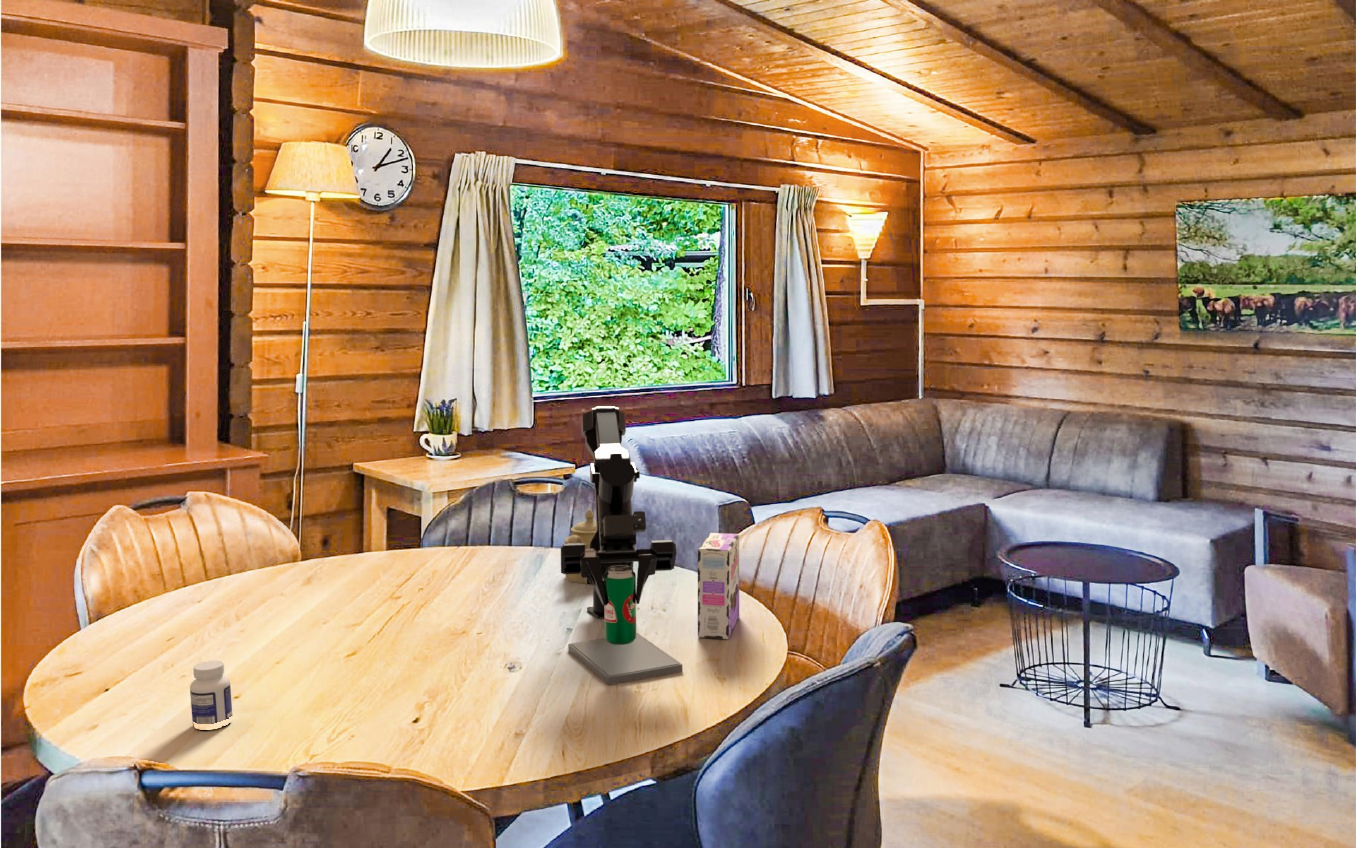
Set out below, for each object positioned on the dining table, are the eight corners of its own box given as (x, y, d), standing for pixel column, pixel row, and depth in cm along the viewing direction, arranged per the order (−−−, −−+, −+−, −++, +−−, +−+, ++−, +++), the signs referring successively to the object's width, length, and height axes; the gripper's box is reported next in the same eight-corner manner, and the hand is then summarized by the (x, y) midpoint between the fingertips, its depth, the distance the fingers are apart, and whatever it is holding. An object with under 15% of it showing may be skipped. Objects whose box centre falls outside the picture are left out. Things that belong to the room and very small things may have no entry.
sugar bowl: (619, 587, 220) (618, 517, 218) (566, 589, 218) (564, 519, 216) (614, 569, 234) (613, 503, 232) (564, 571, 233) (563, 504, 231)
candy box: (729, 640, 186) (729, 549, 184) (696, 638, 187) (696, 548, 185) (740, 617, 199) (740, 532, 197) (709, 615, 200) (709, 531, 198)
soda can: (600, 637, 170) (599, 566, 169) (630, 634, 172) (629, 563, 170) (610, 648, 165) (609, 574, 164) (640, 643, 167) (640, 570, 166)
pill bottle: (219, 714, 154) (215, 656, 153) (240, 722, 151) (236, 663, 150) (184, 726, 150) (181, 666, 149) (205, 735, 147) (201, 674, 146)
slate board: (568, 650, 181) (568, 643, 180) (637, 639, 186) (637, 632, 186) (608, 685, 165) (608, 677, 164) (682, 671, 170) (682, 663, 170)
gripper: (559, 495, 168) (562, 581, 159) (674, 491, 171) (684, 576, 161) (559, 531, 177) (562, 615, 168) (669, 527, 179) (677, 610, 170)
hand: (621, 603), depth 166 cm, fingers closed on soda can, 5 cm apart
